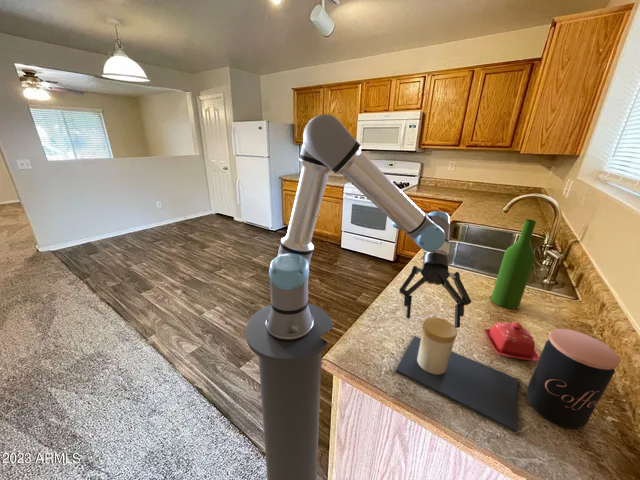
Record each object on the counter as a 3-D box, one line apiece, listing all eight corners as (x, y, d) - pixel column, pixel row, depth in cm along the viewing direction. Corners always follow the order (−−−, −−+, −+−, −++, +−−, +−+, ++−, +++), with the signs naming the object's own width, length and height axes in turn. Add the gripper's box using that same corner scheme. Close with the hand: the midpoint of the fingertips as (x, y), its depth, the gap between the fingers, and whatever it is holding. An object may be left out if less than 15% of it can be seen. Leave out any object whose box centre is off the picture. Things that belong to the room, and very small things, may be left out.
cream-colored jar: (413, 365, 70) (420, 330, 66) (421, 348, 76) (428, 315, 72) (443, 379, 66) (452, 343, 62) (449, 360, 72) (458, 326, 68)
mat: (395, 371, 69) (396, 369, 69) (414, 337, 81) (414, 335, 81) (516, 432, 55) (516, 430, 55) (516, 380, 67) (517, 378, 67)
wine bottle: (524, 307, 98) (554, 223, 87) (505, 310, 96) (533, 225, 85) (503, 294, 106) (528, 216, 95) (485, 297, 104) (508, 217, 93)
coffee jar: (527, 414, 59) (554, 351, 53) (522, 380, 67) (545, 322, 61) (591, 442, 54) (630, 375, 47) (578, 401, 62) (609, 340, 56)
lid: (418, 334, 67) (419, 328, 66) (427, 318, 73) (428, 313, 72) (452, 348, 63) (453, 342, 62) (458, 330, 69) (459, 325, 68)
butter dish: (542, 365, 72) (552, 340, 69) (496, 358, 74) (504, 334, 71) (520, 336, 83) (528, 314, 80) (480, 331, 85) (487, 309, 82)
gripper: (474, 265, 86) (474, 332, 78) (395, 255, 93) (388, 316, 84) (482, 257, 79) (484, 329, 71) (397, 246, 86) (389, 311, 78)
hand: (432, 322), depth 78 cm, fingers open, 13 cm apart
